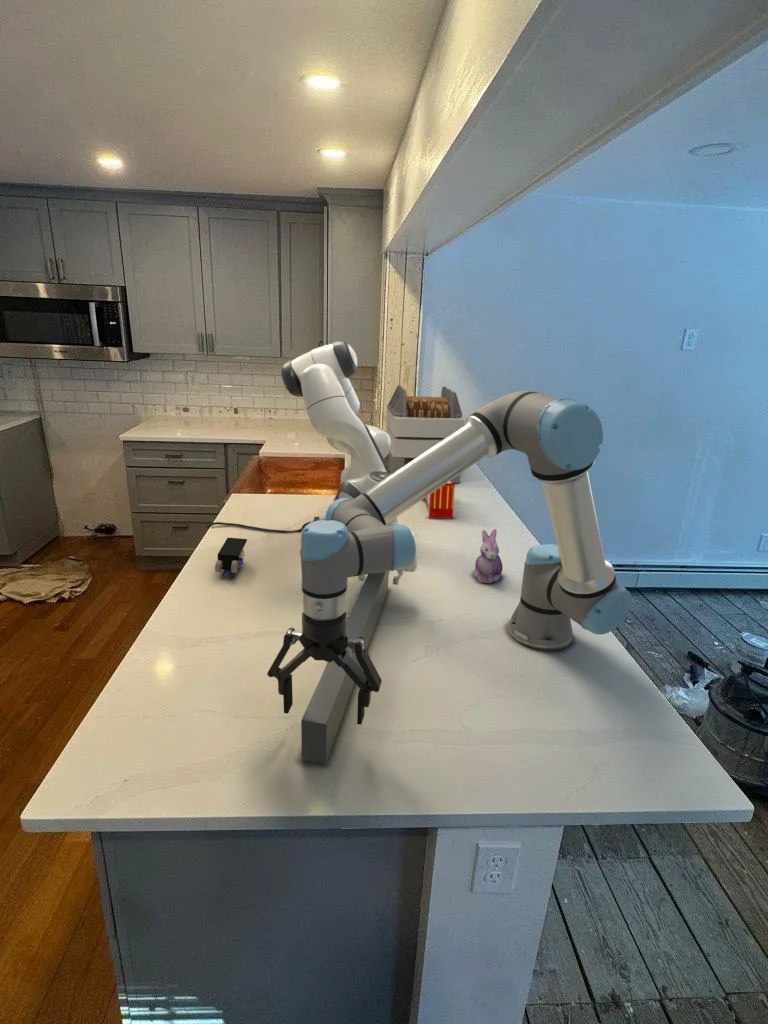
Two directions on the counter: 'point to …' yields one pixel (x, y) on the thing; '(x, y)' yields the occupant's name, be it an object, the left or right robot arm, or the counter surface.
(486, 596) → the counter surface
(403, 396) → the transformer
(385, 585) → the post
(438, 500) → the red striped box
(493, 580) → the figurine
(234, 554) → the black wheeled block
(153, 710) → the counter surface
